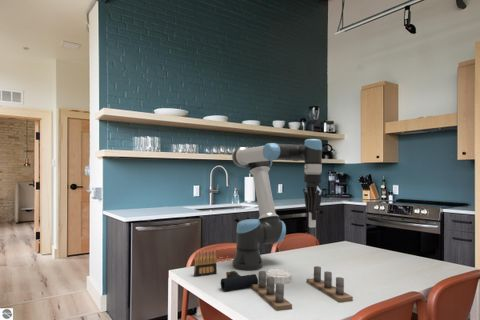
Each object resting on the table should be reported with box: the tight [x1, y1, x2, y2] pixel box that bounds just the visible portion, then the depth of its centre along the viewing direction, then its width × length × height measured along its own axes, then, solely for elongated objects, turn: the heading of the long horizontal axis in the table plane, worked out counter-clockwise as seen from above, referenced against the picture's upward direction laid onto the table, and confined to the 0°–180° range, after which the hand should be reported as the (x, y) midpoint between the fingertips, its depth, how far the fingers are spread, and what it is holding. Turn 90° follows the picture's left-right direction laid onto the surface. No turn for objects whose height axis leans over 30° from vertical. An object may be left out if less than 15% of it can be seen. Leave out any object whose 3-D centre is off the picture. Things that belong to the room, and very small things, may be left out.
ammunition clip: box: [193, 248, 218, 278], centre depth 161 cm, size 11×2×12 cm, turn 117°
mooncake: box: [265, 268, 293, 284], centre depth 156 cm, size 12×12×4 cm
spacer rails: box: [251, 265, 354, 312], centre depth 138 cm, size 24×32×8 cm
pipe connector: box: [220, 270, 259, 292], centre depth 147 cm, size 12×5×15 cm
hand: (312, 227), depth 153 cm, fingers closed
